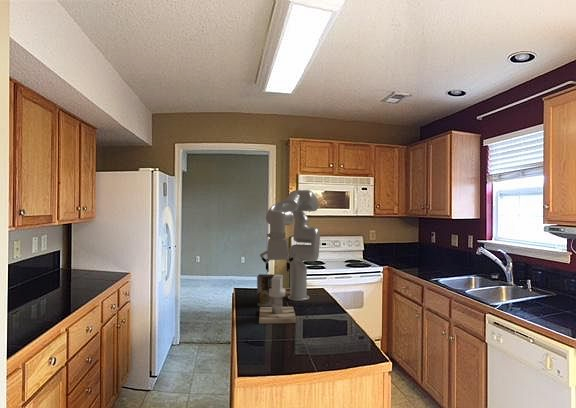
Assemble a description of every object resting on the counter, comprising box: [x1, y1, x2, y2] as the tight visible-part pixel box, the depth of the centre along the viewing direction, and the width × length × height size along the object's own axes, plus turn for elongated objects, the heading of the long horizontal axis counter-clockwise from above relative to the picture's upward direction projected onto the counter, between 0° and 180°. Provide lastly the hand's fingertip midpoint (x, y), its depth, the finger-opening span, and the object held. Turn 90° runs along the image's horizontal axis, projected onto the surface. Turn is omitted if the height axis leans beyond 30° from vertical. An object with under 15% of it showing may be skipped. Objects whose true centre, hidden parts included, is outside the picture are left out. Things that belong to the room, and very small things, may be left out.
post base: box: [258, 297, 297, 325], centre depth 170 cm, size 20×17×10 cm
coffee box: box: [256, 273, 275, 307], centre depth 191 cm, size 9×6×16 cm
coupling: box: [269, 274, 291, 298], centre depth 170 cm, size 10×11×9 cm
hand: (277, 271), depth 171 cm, fingers open, 9 cm apart
